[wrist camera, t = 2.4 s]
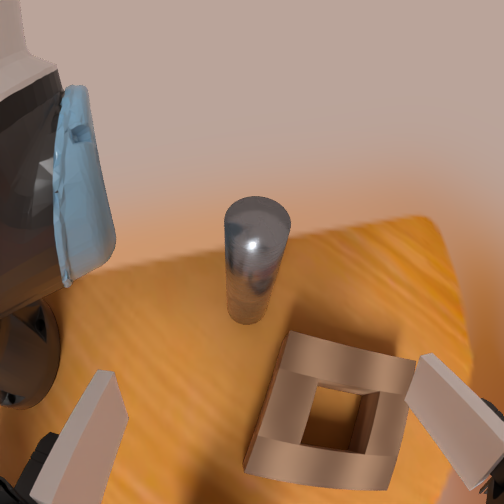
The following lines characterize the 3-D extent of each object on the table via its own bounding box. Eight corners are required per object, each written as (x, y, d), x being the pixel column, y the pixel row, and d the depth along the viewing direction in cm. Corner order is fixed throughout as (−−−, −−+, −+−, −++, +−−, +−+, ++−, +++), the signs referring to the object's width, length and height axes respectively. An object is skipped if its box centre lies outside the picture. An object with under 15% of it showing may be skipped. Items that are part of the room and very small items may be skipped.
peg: (221, 317, 28) (214, 237, 16) (234, 283, 30) (237, 189, 18) (259, 329, 28) (281, 257, 16) (270, 295, 30) (296, 206, 18)
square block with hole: (242, 464, 20) (244, 472, 17) (282, 341, 27) (290, 330, 24) (368, 483, 19) (386, 490, 16) (395, 368, 26) (415, 360, 22)
